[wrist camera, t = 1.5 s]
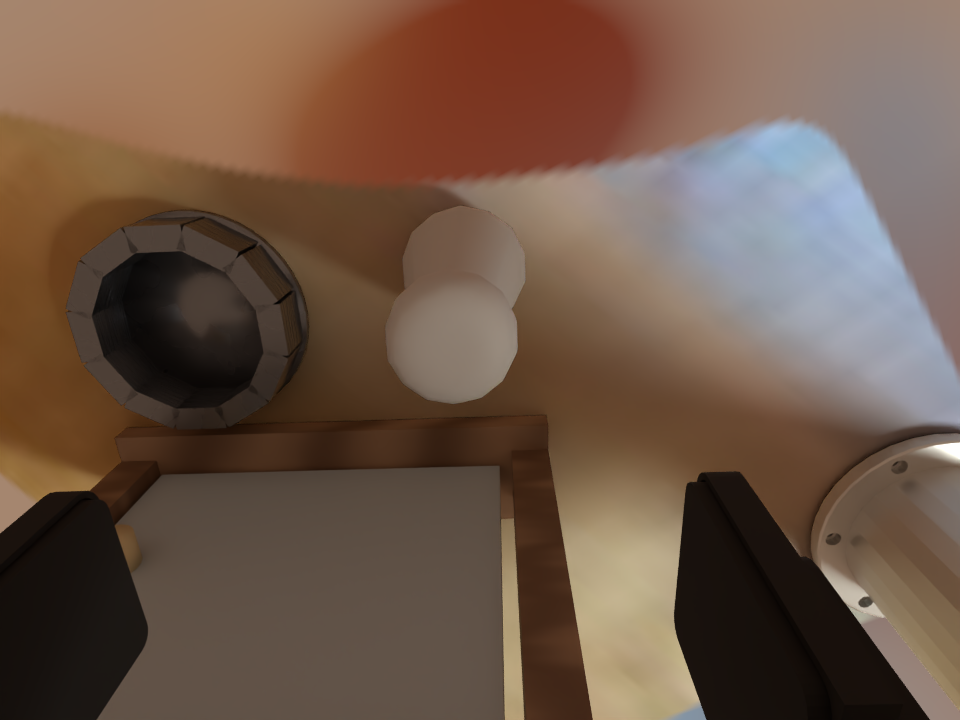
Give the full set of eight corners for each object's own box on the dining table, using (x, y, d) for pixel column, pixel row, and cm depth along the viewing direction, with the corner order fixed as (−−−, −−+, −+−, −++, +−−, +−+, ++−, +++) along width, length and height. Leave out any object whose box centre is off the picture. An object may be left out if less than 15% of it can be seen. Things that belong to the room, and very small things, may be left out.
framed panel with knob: (546, 415, 33) (611, 783, 15) (546, 504, 36) (604, 922, 17) (126, 427, 34) (-306, 790, 16) (152, 514, 37) (-199, 922, 18)
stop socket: (290, 205, 29) (270, 213, 27) (322, 406, 34) (307, 430, 31) (73, 214, 30) (31, 224, 27) (130, 411, 34) (99, 437, 31)
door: (498, 441, 32) (502, 713, 18) (500, 488, 34) (505, 781, 19) (155, 451, 33) (-120, 720, 18) (168, 497, 34) (-81, 786, 19)
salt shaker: (387, 234, 30) (316, 311, 18) (489, 177, 29) (486, 219, 17) (445, 331, 32) (416, 461, 20) (542, 282, 31) (574, 387, 19)
